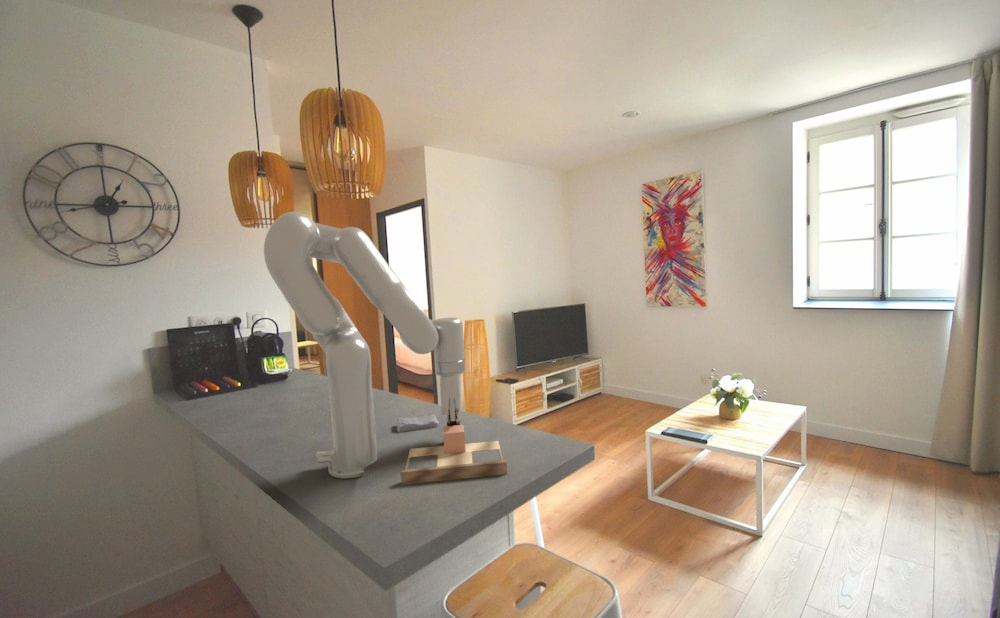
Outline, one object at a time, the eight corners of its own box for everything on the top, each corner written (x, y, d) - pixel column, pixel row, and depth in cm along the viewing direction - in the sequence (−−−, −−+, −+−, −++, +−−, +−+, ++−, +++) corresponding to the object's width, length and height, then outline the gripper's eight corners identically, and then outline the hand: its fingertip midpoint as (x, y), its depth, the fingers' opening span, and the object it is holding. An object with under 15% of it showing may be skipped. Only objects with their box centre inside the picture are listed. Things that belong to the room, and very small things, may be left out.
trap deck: (402, 490, 89) (400, 472, 89) (410, 454, 107) (409, 439, 107) (507, 480, 91) (506, 462, 91) (498, 446, 109) (497, 431, 109)
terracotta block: (444, 454, 103) (443, 433, 102) (444, 445, 108) (443, 426, 107) (465, 452, 103) (464, 431, 103) (464, 443, 108) (463, 424, 108)
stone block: (395, 433, 127) (397, 438, 118) (395, 416, 128) (396, 420, 118) (436, 429, 131) (440, 433, 121) (435, 412, 131) (439, 416, 122)
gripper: (435, 361, 116) (439, 428, 117) (434, 374, 101) (438, 450, 102) (463, 359, 117) (467, 425, 118) (466, 372, 102) (470, 447, 103)
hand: (454, 437), depth 110 cm, fingers closed
